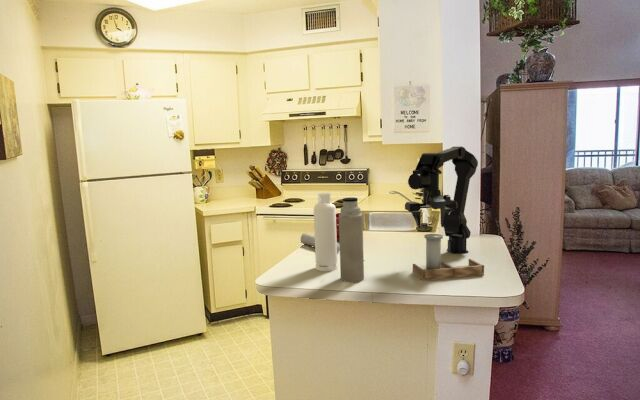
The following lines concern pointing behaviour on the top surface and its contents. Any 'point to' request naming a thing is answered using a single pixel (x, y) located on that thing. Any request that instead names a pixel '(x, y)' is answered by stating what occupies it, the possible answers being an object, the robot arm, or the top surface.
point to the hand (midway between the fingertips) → (430, 227)
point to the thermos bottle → (351, 241)
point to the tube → (312, 240)
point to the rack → (449, 271)
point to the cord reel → (433, 251)
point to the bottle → (325, 233)
